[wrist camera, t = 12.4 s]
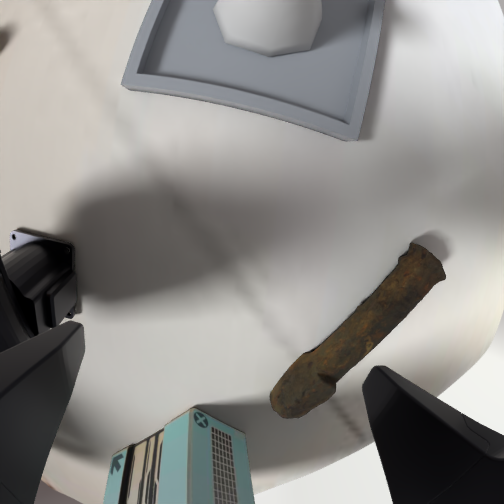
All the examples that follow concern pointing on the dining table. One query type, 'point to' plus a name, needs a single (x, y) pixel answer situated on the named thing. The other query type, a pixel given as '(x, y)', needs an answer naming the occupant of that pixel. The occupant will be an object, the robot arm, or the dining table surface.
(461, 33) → the dining table surface
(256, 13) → the flask
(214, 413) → the dining table surface
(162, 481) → the light blue box
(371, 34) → the parts tray
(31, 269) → the robot arm
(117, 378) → the dining table surface
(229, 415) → the dining table surface
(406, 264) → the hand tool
